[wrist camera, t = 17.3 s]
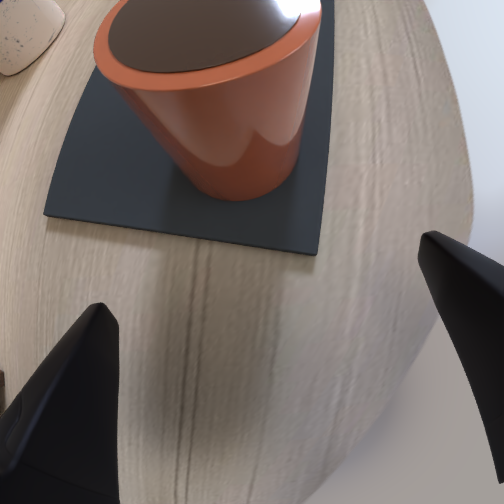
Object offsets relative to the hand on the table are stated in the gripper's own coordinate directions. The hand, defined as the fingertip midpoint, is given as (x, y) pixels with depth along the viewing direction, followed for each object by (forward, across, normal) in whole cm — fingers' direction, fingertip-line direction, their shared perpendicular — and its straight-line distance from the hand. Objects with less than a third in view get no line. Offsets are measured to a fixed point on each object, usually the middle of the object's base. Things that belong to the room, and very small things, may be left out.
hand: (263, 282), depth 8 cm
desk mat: (+20, -2, -11) cm, 23 cm away
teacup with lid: (+23, +19, -14) cm, 33 cm away
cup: (+9, 0, -1) cm, 9 cm away
